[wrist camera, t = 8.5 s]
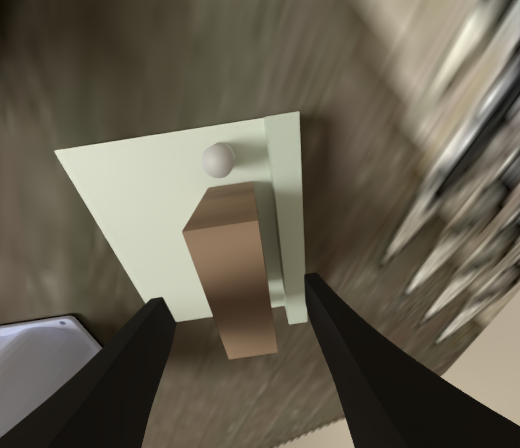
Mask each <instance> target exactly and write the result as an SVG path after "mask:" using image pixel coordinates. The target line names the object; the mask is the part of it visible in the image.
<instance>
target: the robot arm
mask: <svg viewBox="0 0 520 448" xmlns="http://www.w3.org/2000/svg"><path fill="white" fill-rule="evenodd" d="M304 286H305V304H306V307H307V311H308V314H309V318H310V321H311V324H312V327H313V329H314V332H315V334H316V337H317V339H318V342H319V344H320V347H321V349H322V352H323V354H324V357H325V359H326V362H327V364H328V367H329V369H330V372H331V374H332V377H333V380H334V383H335V385H336V389H337V392H338V395H339V398H340V401H341V404H342V408H343V411H344V414H345V417H346V421H347V424H348V427H349V430H350V434H351V437H352V440H353V443H354V447H355V448H520V426H519V425H517V424H515V423H513V422H512V421H510V420H508V419H507V418H505V417H503V416H502V415H500V414H498V413H497V412H495V411H493V410H491V409H490V408H488V407H486V406H485V405H483V404H482V403H480V402H478V401H477V400H475V399H473V398H472V397H470V396H469V395H467V394H466V393H464V392H462V391H461V390H459V389H458V388H456V387H455V386H453V385H452V384H450V383H448V382H447V381H445V380H444V379H442V378H441V377H440V376H438V375H437V374H435V373H434V372H432V371H431V370H429V369H428V368H427V367H425V366H424V365H422V364H421V363H419V362H418V361H416V360H415V359H413V358H412V357H411V356H409V355H408V354H406V353H405V352H404V351H402V350H401V349H400V348H398V347H397V346H396V345H394V344H393V343H392V342H390V341H389V340H388V339H387V338H385V337H384V336H383V335H382V334H380V333H379V332H378V331H377V330H375V329H374V328H373V327H372V326H371V325H369V324H368V323H367V322H366V321H365V320H364V319H363V318H361V317H360V316H359V315H358V314H357V313H356V312H355V311H354V310H353V309H351V308H350V307H349V306H348V305H347V304H346V303H345V302H344V301H343V300H342V299H341V298H340V297H339V296H338V295H337V294H336V293H335V292H334V291H333V290H332V289H331V288H330V287H329V286H328V285H327V284H326V282H325V281H324V280H323V279H322V278H321V277H320V276H319V275H318V274H317V273H311V274H304ZM175 328H176V321H175V319H174V317H173V315H172V314H171V312H170V310H169V308H168V306H167V304H166V302H165V300H164V298H163V297H158V298H152V299H150V300H149V301H148V302H147V303H146V304H145V305H144V306H143V307H142V308H141V309H140V310H139V311H138V312H137V313H136V314H135V315H134V316H133V317H132V318H131V319H130V320H129V321H128V323H127V324H126V325H125V326H124V327H123V328H122V329H121V330H120V331H119V332H118V333H117V334H116V335H115V336H114V337H113V338H112V339H111V340H110V341H109V342H108V343H107V344H106V345H105V346H104V347H103V348H102V347H101V346H100V345H99V344H98V343H97V342H96V340H95V339H94V338H93V337H92V336H91V335H90V334H89V333H88V332H87V330H86V329H85V328H84V327H83V326H82V325H81V324H80V323H79V321H78V320H77V319H76V318H75V317H73V316H63V317H56V318H50V319H43V320H37V321H30V322H23V323H17V324H10V325H4V326H0V448H141V446H142V442H143V438H144V434H145V430H146V426H147V422H148V418H149V414H150V411H151V407H152V404H153V401H154V398H155V395H156V392H157V389H158V386H159V383H160V380H161V377H162V374H163V371H164V368H165V365H166V362H167V359H168V356H169V353H170V350H171V346H172V343H173V338H174V333H175Z"/></svg>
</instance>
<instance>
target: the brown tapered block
mask: <svg viewBox="0 0 520 448" xmlns="http://www.w3.org/2000/svg"><path fill="white" fill-rule="evenodd" d="M182 234H183V236H184V239H185V242H186V245H187V247H188V250H189V253H190V255H191V258H192V261H193V263H194V266H195V269H196V272H197V274H198V277H199V280H200V282H201V285H202V288H203V291H204V293H205V296H206V299H207V301H208V304H209V307H210V309H211V312H212V315H213V318H214V320H215V323H216V326H217V328H218V331H219V334H220V337H221V339H222V342H223V345H224V347H225V350H226V353H227V355H228V358H229V359H236V358H243V357H249V356H256V355H263V354H270V353H277V352H278V349H277V342H276V335H275V328H274V321H273V314H272V307H271V300H270V293H269V285H268V279H267V272H266V265H265V259H264V252H263V245H262V239H261V232H260V225H259V219H258V212H257V205H256V199H255V192H254V185H253V181H249V182H242V183H236V184H229V185H222V186H215V187H209V188H208V189H207V191H206V192H205V194H204V196H203V197H202V199H201V201H200V202H199V204H198V206H197V207H196V209H195V211H194V212H193V214H192V216H191V217H190V219H189V221H188V222H187V224H186V226H185V227H184V229H183V231H182Z"/></svg>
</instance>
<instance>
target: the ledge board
mask: <svg viewBox="0 0 520 448" xmlns="http://www.w3.org/2000/svg"><path fill="white" fill-rule="evenodd" d="M54 152H55V154H56V155H57V157H58V159H59V160H60V162H61V164H62V165H63V167H64V169H65V170H66V172H67V174H68V175H69V177H70V179H71V180H72V182H73V184H74V185H75V187H76V189H77V190H78V192H79V194H80V195H81V197H82V199H83V200H84V202H85V204H86V205H87V207H88V209H89V210H90V212H91V214H92V215H93V217H94V219H95V220H96V222H97V224H98V225H99V227H100V229H101V230H102V232H103V234H104V235H105V237H106V239H107V240H108V242H109V244H110V245H111V247H112V249H113V250H114V252H115V254H116V255H117V257H118V259H119V260H120V262H121V264H122V265H123V267H124V269H125V270H126V272H127V274H128V275H129V277H130V279H131V280H132V282H133V284H134V285H135V287H136V289H137V290H138V292H139V294H140V295H141V297H142V299H143V300H144V302H145V304H146V303H147V302H148V301H149V300H150V299H152V298H158V297H163V298H164V300H165V302H166V304H167V306H168V308H169V310H170V312H171V314H172V315H173V317H174V319H175V321H176V322H180V321H186V320H193V319H200V318H206V317H213V315H212V312H211V309H210V307H209V304H208V301H207V299H206V296H205V293H204V291H203V288H202V285H201V282H200V280H199V277H198V274H197V272H196V269H195V266H194V263H193V261H192V258H191V255H190V253H189V250H188V247H187V245H186V242H185V239H184V236H183V234H182V231H183V229H184V227H185V226H186V224H187V222H188V221H189V219H190V217H191V216H192V214H193V212H194V211H195V209H196V207H197V206H198V204H199V202H200V201H201V199H202V197H203V196H204V194H205V192H206V191H207V189H208V188H209V187H215V186H222V185H229V184H236V183H242V182H249V181H253V185H254V192H255V199H256V205H257V212H258V219H259V225H260V232H261V239H262V245H263V252H264V259H265V265H266V272H267V279H268V285H269V293H270V300H271V307H278V306H285V308H286V313H287V317H288V322H289V325H290V324H296V323H303V322H307V307H306V304H305V286H304V274H305V250H304V224H303V198H302V171H301V145H300V119H299V112H292V113H286V114H279V115H273V116H267V117H264V118H260V119H253V120H247V121H240V122H234V123H228V124H221V125H215V126H209V127H202V128H196V129H189V130H183V131H177V132H170V133H164V134H158V135H151V136H145V137H138V138H132V139H126V140H119V141H113V142H107V143H100V144H94V145H87V146H81V147H75V148H68V149H62V150H56V151H54Z"/></svg>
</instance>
